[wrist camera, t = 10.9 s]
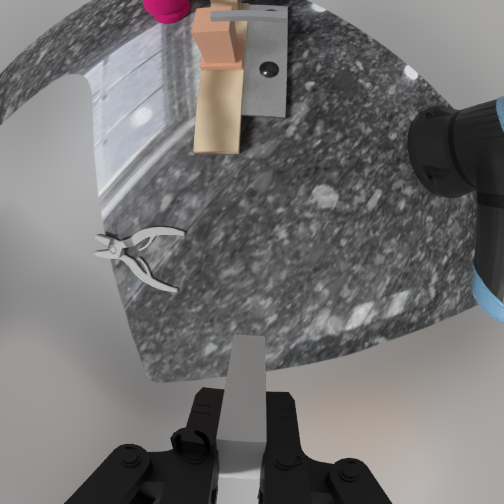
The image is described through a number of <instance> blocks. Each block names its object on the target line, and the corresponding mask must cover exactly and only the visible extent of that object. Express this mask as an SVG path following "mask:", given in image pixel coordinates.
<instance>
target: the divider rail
mask: <svg viewBox="0 0 504 504" xmlns="http://www.w3.org/2000/svg"><path fill="white" fill-rule="evenodd" d="M210 1H211V7H227V6H232V10H249V3H241V0H210ZM234 22H235V28H236V33H237V38H244V51H243V64H242V70H201V75H200V83H199V93H198V103H197V113H196V125H195V138H194V152H196V153H227V154H239V153H240V136H241V119H242V116H241V110H242V95H243V81H244V67H245V54H246V41H247V29H248V21H234Z"/></svg>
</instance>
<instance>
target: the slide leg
mask: <svg viewBox="0 0 504 504" xmlns="http://www.w3.org/2000/svg"><path fill="white" fill-rule="evenodd" d="M234 21H263V22H280V23H287V12H279V11H262V10H232V6H227V7H209V8H198V9H196V13H195V18H194V23H193V28H192V35H193V37H194V39H195V41H196V43H197V45H198V47H199V50H200V52H201V54H202V57H201V64H200V68H201V70H242V64H243V51H244V38H237V33H236V28H235V22H234Z"/></svg>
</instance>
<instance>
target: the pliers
mask: <svg viewBox="0 0 504 504" xmlns="http://www.w3.org/2000/svg"><path fill="white" fill-rule="evenodd" d="M157 235H182V236H184V235H185V232H183V231H181V230H178V229H175V228H170V227H152V228H147V229H144V230H141V231H139V232H137V233H136V234H135V235H133V236H132V237H131V238H129V239H127V240H121V241H119V240H117V239H115V238H112V237H108V236H105V235H104V234H98V235H96V236H95V239H96V240H98V241H100V242H102V243H103V244H105V245H107V246H110V247H109V249H105V250H98V251H96V252H94V255H95V256H98V257H103V258H108V259H117V258H119V259H120V260H122V261H124V262H125V263H126V264H127V265H128V266H129V267H130V269H131V270H132V271H133V273H134V274H135V275H136V276H137V277H138V278H140V279H141V280H142V281H144V282H145V283H147V284H149V285H151V286H153V287H155V288H158V289H161V290H164V291H171V292H177V291H178V288H175V287H172V286H169V285H167V284H164V283H162V282H160V281H158V280H156V279H154V278H153V277H152V276H151V273H150V270H149V268H148V266H147V264H146V263H145V262H144V261H143V260H142V259H141V258H140V257H139V258H138V259H139V260H140V261H141V262H142V263H143V265H144V266H145V268H146V270H147V274H146V273H145V272H144V271H143V270H142V269H141V268H140V266H139V265H138V264H137V262H136V261H135V260H134V259H133V258H131V257H129V256H127V255H125V251H124V248H127V247H132V246H135V245H137V244H138V243H139V242H141V241H142V240H144V239H145V238H148V237H150V240H149V242H148V244H147V245H146V246H144V247H143V248H141V249H139V251H140V250H143V249H145V248H146V247H148V246H149V245H150V244H151V243H152V241H153V239H154V238H155V237H156V236H157Z"/></svg>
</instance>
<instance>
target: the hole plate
mask: <svg viewBox="0 0 504 504" xmlns="http://www.w3.org/2000/svg"><path fill="white" fill-rule="evenodd" d="M249 10H262V11H279V12H287V23H280V22H263V21H248V29H247V41H246V54H245V67H244V81H243V95H242V110H241V116H242V117H262V118H278V119H285V113H286V83H287V34H288V7H285V6H272V5H250V7H249Z"/></svg>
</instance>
